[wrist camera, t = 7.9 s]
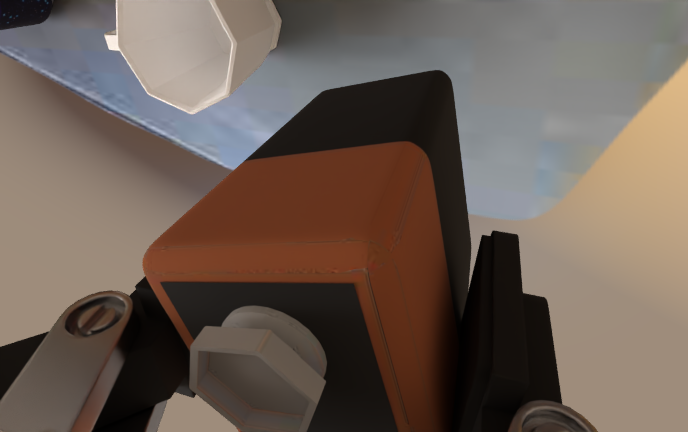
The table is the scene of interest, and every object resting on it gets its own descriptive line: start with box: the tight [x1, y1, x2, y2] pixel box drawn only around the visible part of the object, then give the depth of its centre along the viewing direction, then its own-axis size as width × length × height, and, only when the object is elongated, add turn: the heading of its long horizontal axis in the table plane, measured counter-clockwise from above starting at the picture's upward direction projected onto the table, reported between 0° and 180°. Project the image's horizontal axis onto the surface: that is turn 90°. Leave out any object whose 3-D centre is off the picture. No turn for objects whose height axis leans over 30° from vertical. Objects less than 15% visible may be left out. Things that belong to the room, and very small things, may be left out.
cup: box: [104, 0, 282, 115], centre depth 24 cm, size 7×10×8 cm
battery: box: [143, 70, 471, 432], centre depth 11 cm, size 4×7×10 cm, turn 14°
